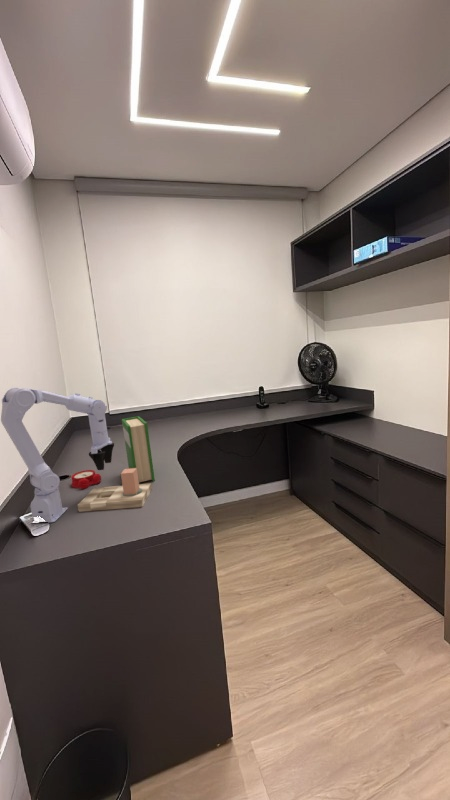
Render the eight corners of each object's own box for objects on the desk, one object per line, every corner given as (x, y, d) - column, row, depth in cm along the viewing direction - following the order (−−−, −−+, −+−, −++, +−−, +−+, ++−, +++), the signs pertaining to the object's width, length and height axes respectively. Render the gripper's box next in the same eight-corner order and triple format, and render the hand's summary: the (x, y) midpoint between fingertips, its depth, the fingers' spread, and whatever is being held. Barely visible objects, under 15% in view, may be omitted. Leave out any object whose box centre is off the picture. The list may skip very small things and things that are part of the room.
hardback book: (154, 480, 139) (146, 423, 135) (136, 485, 136) (127, 426, 133) (146, 468, 155) (138, 416, 151) (129, 472, 152) (121, 419, 149)
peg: (136, 494, 121) (133, 472, 120) (124, 495, 121) (120, 473, 120) (139, 488, 126) (136, 468, 124) (127, 489, 126) (124, 469, 125)
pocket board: (142, 506, 117) (141, 499, 116) (78, 511, 118) (77, 504, 117) (151, 489, 131) (151, 483, 130) (95, 494, 132) (93, 487, 131)
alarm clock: (88, 468, 152) (103, 466, 142) (92, 482, 152) (107, 481, 142) (64, 476, 145) (79, 475, 134) (68, 490, 145) (83, 490, 134)
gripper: (102, 435, 121) (108, 472, 123) (116, 425, 136) (121, 458, 138) (82, 437, 122) (88, 473, 124) (98, 427, 136) (103, 460, 138)
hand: (104, 466), depth 131 cm, fingers open, 7 cm apart
